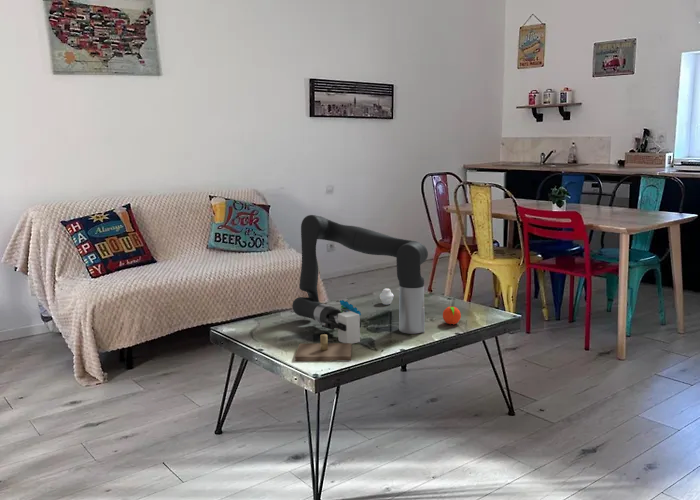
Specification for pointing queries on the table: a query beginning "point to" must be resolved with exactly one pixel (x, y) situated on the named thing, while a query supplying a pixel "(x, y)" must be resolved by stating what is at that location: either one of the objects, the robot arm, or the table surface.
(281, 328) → the table surface
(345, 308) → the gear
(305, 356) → the base plate
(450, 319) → the clementine
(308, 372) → the table surface
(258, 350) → the table surface
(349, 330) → the block
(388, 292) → the white vase
